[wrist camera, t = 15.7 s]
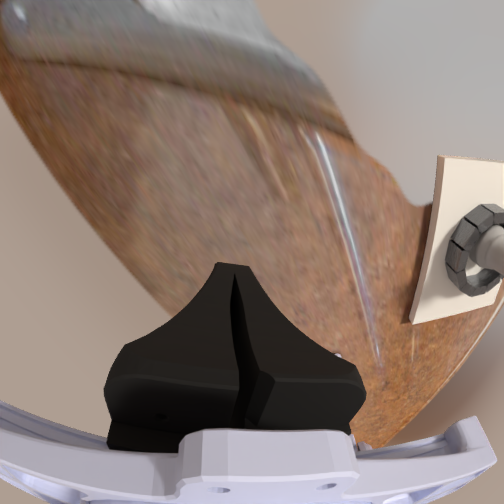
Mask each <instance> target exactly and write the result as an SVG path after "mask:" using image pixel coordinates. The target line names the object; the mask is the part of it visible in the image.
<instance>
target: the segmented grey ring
mask: <svg viewBox="0 0 504 504" xmlns="http://www.w3.org/2000/svg"><path fill="white" fill-rule="evenodd" d="M464 219H465V220H464ZM464 219H463V218H462V219H461V221H460V222H459V224H458V226H457V227H456V229H455V231H454V232H453V234H452V235H451V237H450V238H452V239H453V240H449V243H448V248H447V252H446V257H445V261H446V262H445V266H446V270H447V274H448V278H449V279H450V280H451V281H452V282H453V284H454V285H455V286H456V287H457V288H458V289H459V290H460V291H461V292H463V293H464V294H466V295H468V296H469V297H474V296H478V295H482V294H485V293H486V292H488V291H490V290H491V289H492V288H493V287H495V286H496V285H497V284H498V283H499V282H500V279H503V278H504V276H503V275H502V274H500V273H499V272H497V271H496V270H494V269H492V270H491V269H488V268H487V269H486V268H484V269H482V270H481V271H480V272H479V273H477V274H475V275H470V276H466V271H465V268H466V264H467V261H468V257H469V253H470V251H471V249H472V247H473V246H474V244H475V243H476V241H477V239H478V238H479V236H480V235H481V234H482V233H483V232H484V231H486V230H487V229H488V228H489V227H491V226H492V225H493V224H499V225H500V226H502V227H503V229H504V209H503V208H501V207H499V206H498V205H496V204H481V206H480V205H478V206H477V207H475V208H474V209H473V210H471V211H470V212H469V213H467V214H466V215H465V216H464Z"/></svg>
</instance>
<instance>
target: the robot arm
mask: <svg viewBox="0 0 504 504" xmlns="http://www.w3.org/2000/svg"><path fill="white" fill-rule="evenodd" d="M104 397H105V401H106V403H107V407H108V410H109V413H110V416H111V419H112V421H111V425H110V429H109V433H108V437H107V438H105V437H102V436H98V435H94V434H91V433H87V432H84V431H80V430H77V429H73V428H70V427H67V426H64V425H61V424H58V423H55V422H52V421H50V420H47V419H44V418H41V417H38V416H36V415H33V414H31V413H28V412H26V411H24V410H21V409H19V408H16V407H14V406H12V405H10V404H7V403H5V402H3V401H1V400H0V478H1V479H3V480H5V481H6V482H8V483H10V484H12V485H14V486H15V487H17V488H19V489H21V490H23V491H25V492H27V493H29V494H31V495H33V496H35V497H37V498H39V499H41V500H44V501H46V502H48V503H50V504H427V503H429V502H431V501H434V500H436V499H439V498H441V497H443V496H446V495H448V494H450V493H452V492H454V491H457V490H458V489H460V488H461V487H463V486H464V485H466V484H468V483H469V482H470V481H471V480H473V479H475V478H476V477H477V476H479V475H480V474H482V473H483V472H484V471H486V470H487V469H488V468H490V467H491V466H492V465H494V464H495V463H496V462H497V458H496V456H495V454H494V451H493V449H492V447H491V445H490V443H489V441H488V439H487V437H486V435H485V433H484V431H483V429H482V427H481V425H480V423H479V421H478V419H477V417H476V416H472V417H469V418H465V419H462V420H459V421H457V422H455V423H454V424H452V425H451V426H450V427H449V428H448V429H447V430H446V431H445V432H444V434H440V435H436V436H433V437H429V438H425V439H421V440H417V441H412V442H408V443H403V444H398V445H393V446H388V447H382V448H377V449H372V447H371V445H369V444H367V443H365V442H364V441H361V442H358V443H357V446H356V442H355V439H354V435H353V434H351V429H350V426H349V422H350V421H351V420H352V418H353V417H354V416H355V415H356V413H357V412H358V411H359V409H360V408H361V407H362V405H363V403H364V402H365V400H366V390H365V387H364V385H363V381H362V379H361V376H360V374H359V372H358V370H357V368H356V365H354V364H352V363H350V362H348V361H346V360H344V359H342V358H341V355H340V354H333V353H331V352H329V351H328V350H326V349H325V348H323V347H321V346H320V345H318V344H317V343H316V342H314V341H313V340H311V339H310V338H309V337H307V336H306V335H305V334H304V333H302V332H301V331H300V330H299V329H298V328H297V327H295V326H294V325H293V324H292V323H291V322H290V321H289V320H288V319H287V318H286V317H285V316H284V315H283V314H282V313H281V312H280V311H279V309H278V308H277V307H276V306H275V305H274V303H273V302H272V301H271V300H270V298H269V297H268V295H267V294H266V293H265V291H264V290H263V288H262V287H261V285H260V284H259V282H258V280H257V279H256V277H255V275H254V274H253V272H252V270H251V269H250V267H249V266H244V265H236V264H229V263H222V262H217V263H216V264H215V266H214V269H213V271H212V273H211V275H210V276H209V278H208V280H207V281H206V283H205V284H204V285H203V287H202V288H201V290H200V291H199V292H198V293H197V294H196V296H195V297H194V298H193V299H192V300H191V301H190V302H189V304H188V305H187V306H186V307H184V308H183V309H182V310H181V311H180V312H179V313H178V314H177V315H175V316H174V317H173V318H172V319H171V320H169V321H168V322H167V323H165V324H164V325H162V326H161V327H159V328H157V329H156V330H154V331H153V332H151V333H149V334H148V335H146V336H144V337H141V338H139V339H137V340H135V341H133V342H130V343H128V344H125V345H124V347H123V348H122V349H121V351H120V353H119V354H118V356H117V358H116V359H115V361H114V363H113V365H112V367H111V369H110V371H109V374H108V377H107V380H106V384H105V387H104ZM357 447H358V449H357Z"/></svg>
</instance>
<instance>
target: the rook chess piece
mask: <svg viewBox="0 0 504 504" xmlns="http://www.w3.org/2000/svg"><path fill="white" fill-rule="evenodd" d="M469 257H470V259H471V260H472V261H473V262H474V263H476V264H477V265H478V266H479V267H481V268H486V269H487V268H488V269H491V270H492V269H494V270H496V271H497V272H499V273H500V274H502V275H503V276H504V229H503V227H502V226H500V225H498V224H493V225H492V226H491V227H489V228H488V229H487V230H486V231H484V232H483V233H482V234H481V235H480V236H479V238H478V239H477V241H476V243H475V244H474V246H473V247H472V249H471V251H470V253H469Z"/></svg>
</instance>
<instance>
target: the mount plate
mask: <svg viewBox="0 0 504 504" xmlns="http://www.w3.org/2000/svg"><path fill="white" fill-rule="evenodd" d="M481 204H496V205H498V206H499V207H501V208H503V209H504V161H497V160H489V159H480V158H470V157H458V156H445V155H438V158H437V171H436V180H435V189H434V197H433V205H432V212H431V219H430V225H429V231H428V237H427V242H426V247H425V253H424V257H423V262H422V267H421V271H420V276H419V280H418V284H417V288H416V292H415V296H414V300H413V304H412V308H411V311H410V315H409V320H410V321H411V323H412V324H417V323H421V322H426V321H430V320H434V319H439V318H443V317H447V316H451V315H455V314H459V313H462V312H466V311H470V310H474V309H477V308H481V307H484V306H488V305H491V304H493V303H494V301H495V298H496V295H497V293H498V290H499V287H500V285H501V282H502V279H500V282H499V283H498V284H497V285H496V286H495V287H493V288H492V289H491V290H490V291H488V292H486V293H485V294H482V295H478V296H474V297H469V296H468V295H466V294H464V293H463V292H461V291H460V290H459V289H458V288H457V287H456V286H455V285H454V284H453V282H452V281H451V280H450V279H449V278H448V274H447V270H446V266H445V262H446V261H445V257H446V252H447V248H448V243H449V240H453V239H452V238H450V237H451V235H452V234H453V232H454V231H455V229H456V227H457V226H458V224H459V222H460V221H461V219H462V218H463V219H464V216H465V215H466V214H467V213H469V212H470V211H471V210H473V209H474V208H475V207H477V206H478V205H480V206H481ZM464 220H465V219H464ZM498 225H499V224H498ZM482 269H484V268H481V267H479V266H478V265H477V264H476V263H474V262H473V261H472V260H471V259H470V257H468V261H467V264H466V268H465V271H466V276H470V275H475V274H477V273H479V272H480V271H481V270H482Z"/></svg>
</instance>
